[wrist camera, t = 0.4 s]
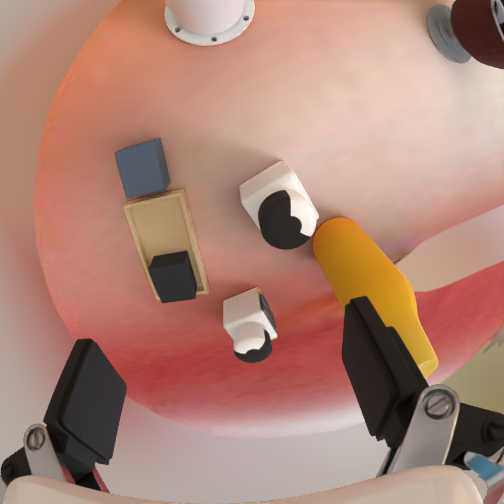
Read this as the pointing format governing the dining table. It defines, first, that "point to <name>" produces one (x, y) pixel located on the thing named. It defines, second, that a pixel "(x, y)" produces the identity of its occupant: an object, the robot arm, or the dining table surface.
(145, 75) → the dining table surface
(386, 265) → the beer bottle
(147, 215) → the wooden tray
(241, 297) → the medicine bottle
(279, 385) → the dining table surface
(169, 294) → the pad
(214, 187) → the dining table surface
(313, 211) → the container
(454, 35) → the mate gourd
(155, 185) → the blue block
